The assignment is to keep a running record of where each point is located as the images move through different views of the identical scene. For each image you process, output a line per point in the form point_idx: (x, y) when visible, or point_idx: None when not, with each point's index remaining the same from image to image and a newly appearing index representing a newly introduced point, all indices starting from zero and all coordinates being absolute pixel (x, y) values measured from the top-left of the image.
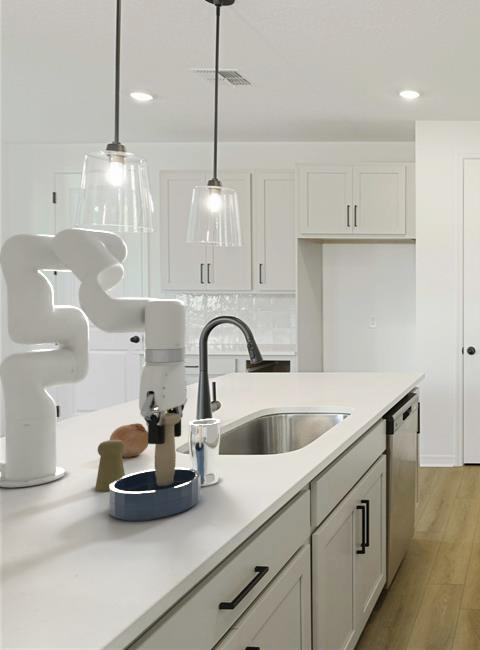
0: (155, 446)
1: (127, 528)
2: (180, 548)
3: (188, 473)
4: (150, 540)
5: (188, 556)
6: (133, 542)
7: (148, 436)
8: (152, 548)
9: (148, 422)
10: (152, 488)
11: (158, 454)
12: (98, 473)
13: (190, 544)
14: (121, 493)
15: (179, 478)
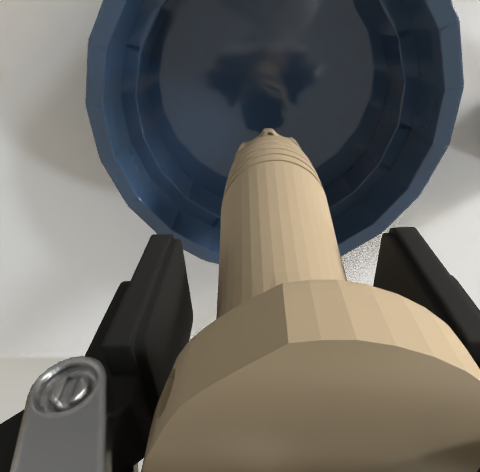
0: (241, 212)
1: (89, 125)
2: (42, 307)
3: (404, 177)
4: (49, 232)
5: (21, 333)
6: (25, 201)
7: (139, 266)
8: (19, 259)
9: (2, 436)
10: (378, 11)
11: (221, 221)
12: None
13: (64, 314)
14: (87, 84)
15: (415, 122)
